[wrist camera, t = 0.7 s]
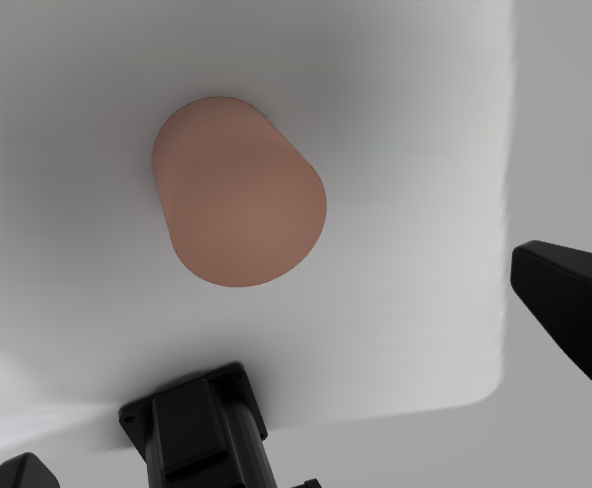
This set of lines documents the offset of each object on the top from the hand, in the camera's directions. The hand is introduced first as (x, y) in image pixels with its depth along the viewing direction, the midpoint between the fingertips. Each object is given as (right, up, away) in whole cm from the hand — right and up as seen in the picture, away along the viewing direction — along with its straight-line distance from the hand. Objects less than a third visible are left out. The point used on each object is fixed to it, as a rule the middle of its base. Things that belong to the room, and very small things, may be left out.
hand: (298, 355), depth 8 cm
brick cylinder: (-3, +5, +10) cm, 12 cm away
